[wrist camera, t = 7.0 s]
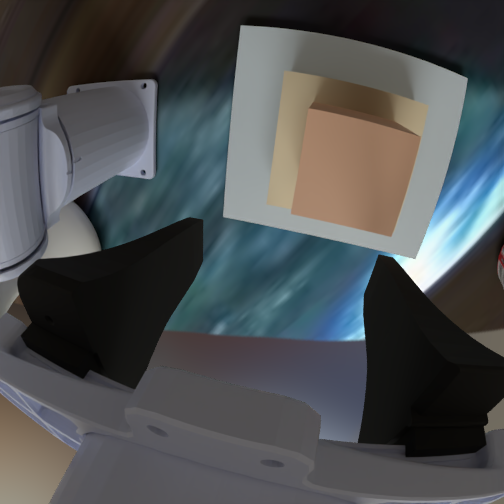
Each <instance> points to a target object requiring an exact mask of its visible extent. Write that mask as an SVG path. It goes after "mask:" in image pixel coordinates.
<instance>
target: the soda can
mask: <svg viewBox="0 0 504 504" xmlns="http://www.w3.org/2000/svg"><path fill="white" fill-rule="evenodd" d="M497 270H498V275H499V278H500V280H501V283H502V285H503V287H504V245H503V246H502V249H501V251H500V254H499V257H498V263H497Z"/></svg>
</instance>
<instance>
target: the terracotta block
mask: <svg viewBox="0 0 504 504" xmlns="http://www.w3.org/2000/svg"><path fill="white" fill-rule="evenodd" d="M420 140H421V137H420V136H418V135H417V134H415V133H414V132H412V131H410V130H409V129H407V128H405V127H403V126H402V125H400V124H398V123H397V122H395V121H391V120H388V119H385V118H381V117H377V116H374V115H370V114H366V113H362V112H358V111H354V110H350V109H345V108H341V107H337V106H332V105H327V104H322V103H317V102H313V103H312V104H311V106H310V107H309V108H308V114H307V121H306V127H305V133H304V140H303V146H302V152H301V158H300V163H299V169H298V175H297V181H296V187H295V192H294V198H293V203H292V209H291V214H293V215H298V216H302V217H307V218H311V219H316V220H321V221H325V222H330V223H334V224H338V225H343V226H347V227H351V228H356V229H360V230H364V231H368V232H372V233H377V234H381V235H385V236H389V237H391V236H392V234H393V231H394V228H395V225H396V222H397V219H398V216H399V213H400V210H401V207H402V204H403V201H404V198H405V194H406V191H407V188H408V184H409V181H410V177H411V174H412V170H413V167H414V163H415V159H416V156H417V152H418V148H419V144H420Z"/></svg>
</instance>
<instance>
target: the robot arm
mask: <svg viewBox="0 0 504 504" xmlns="http://www.w3.org/2000/svg"><path fill="white" fill-rule="evenodd" d="M144 83H146V84H147V87H146V88H144ZM157 87H158V85H157V82H156V80H154V79H142V80H124V81H111V82H100V83H91V84H83V85H76V86H70V87H69V88H68V90H67V94H66V95H61V96H57V97H53V98H48V99H44V100H42V95H41V93H40V92H37V91H36V90H35V89H34V88H33V87H32V86H30V85H15V86H7V87H0V282H4V281H8V280H11V279H14V278H16V277H18V276H19V277H18V280H17V287H18V292H19V295H20V298H21V300H22V302H23V304H24V307H25V309H26V311H27V313H28V315H29V317H30V319H31V321H32V323H31V324H30V325H29V327H28V328H27V327H26V326H25V325H24V323H23V322H21V321H20V320H18V319H17V318H15V317H13V316H12V315H10V314H8V313H5V314H4V315H3V316H2V317H1V318H0V393H1V394H2V395H3V396H5V397H6V398H7V399H8V400H9V401H10V402H12V403H13V404H14V405H15V406H16V407H18V408H19V409H21V411H23V412H24V413H25V414H26V415H28V416H29V417H30V418H31V419H33V420H34V421H35V422H37V423H38V424H39V425H41V426H42V427H43V428H45V429H46V430H47V431H49V432H50V433H51V434H53V435H54V436H55V437H57V438H58V439H60V440H61V441H63V442H64V443H66V444H67V445H69V446H70V447H72V448H73V449H75V450H76V451H77V452H76V454H75V456H74V458H73V459H72V461H71V463H70V465H69V467H68V469H67V470H66V472H65V474H64V476H63V478H62V480H61V482H60V483H59V485H58V487H57V489H56V491H55V493H54V495H53V497H52V499H51V501H50V503H49V504H489V503H492V502H493V501H496V500H498V499H500V498H502V497H504V429H498V430H492V431H489V432H488V433H485V431H484V426H485V425H487V424H488V417H487V413H488V412H489V411H491V410H492V409H493V408H494V407H495V406H496V405H497V404H498V403H499V402H500V401H501V400H502V399H503V398H504V357H502V356H501V355H499V354H497V353H495V352H493V351H492V350H490V349H488V348H486V347H485V346H484V345H482V344H481V343H479V342H478V341H476V340H475V339H473V338H472V337H470V336H469V335H468V334H466V333H465V332H464V331H463V330H461V329H460V328H459V327H458V326H457V325H455V324H454V323H453V322H452V321H451V320H449V319H448V318H447V317H446V316H445V315H444V314H443V313H442V312H441V311H440V310H439V309H438V308H437V307H436V306H435V305H434V304H433V303H432V302H431V301H430V300H429V299H428V298H427V296H426V295H425V294H424V293H423V292H422V291H421V290H420V289H419V287H418V286H417V285H416V284H415V283H414V281H413V280H412V279H411V278H410V277H409V275H408V274H407V273H406V272H405V271H404V269H403V268H402V267H401V266H400V265H399V264H398V262H397V261H396V260H395V259H394V258H393V257H388V256H384V255H378V258H377V261H376V264H375V266H374V269H373V272H372V275H371V277H370V280H369V283H368V285H367V288H366V290H365V293H364V307H363V317H364V328H365V339H366V351H367V382H366V393H365V402H364V411H363V417H362V423H361V429H360V434H359V439H358V443H352V442H341V441H333V440H325V439H319V433H320V424H321V416H320V415H319V414H318V413H317V412H316V411H315V410H313V409H312V408H311V407H310V406H309V405H307V404H306V403H305V402H302V401H299V400H296V399H293V398H290V397H287V396H283V395H278V394H274V393H269V392H264V391H259V390H255V389H251V388H247V387H243V386H238V385H235V384H231V383H227V382H223V381H219V380H216V379H212V378H208V377H205V376H201V375H198V374H195V373H191V372H188V371H185V370H181V369H176V368H169V367H164V366H160V367H155V368H153V369H149V370H146V369H147V367H148V364H149V361H150V359H151V356H152V354H153V352H154V350H155V347H156V345H157V343H158V341H159V338H160V336H161V334H162V332H163V330H164V328H165V326H166V324H167V322H168V320H169V319H170V317H171V315H172V314H173V312H174V311H175V309H176V308H177V306H178V304H179V303H180V301H181V300H182V298H183V297H184V295H185V294H186V292H187V291H188V289H189V287H190V286H191V284H192V283H193V281H194V280H195V277H196V275H197V273H198V271H199V269H200V267H201V264H202V262H203V220H202V219H196V218H191V217H189V218H186V219H183V220H181V221H178V222H176V223H174V224H171V225H169V226H167V227H165V228H162V229H160V230H158V231H156V232H153V233H151V234H149V235H146V236H144V237H141V238H139V239H136V240H134V241H131V242H128V243H125V244H122V245H119V246H116V247H113V248H109V249H105V250H101V251H97V252H93V253H88V254H82V255H77V256H69V257H60V258H45V259H41V257H42V256H43V254H44V253H45V251H46V248H47V245H48V233H47V230H48V229H49V228H50V227H52V226H53V225H55V224H56V223H57V222H59V221H60V217H59V215H60V210H61V208H62V207H64V206H65V205H67V204H68V203H70V202H71V201H73V200H75V199H76V198H78V197H79V196H81V195H83V194H84V193H86V192H87V191H89V190H91V189H92V188H94V187H96V186H97V185H99V184H101V183H103V182H104V181H106V180H108V179H109V178H111V177H113V176H115V175H122V176H130V177H138V178H145V179H151V178H153V177H155V175H156V110H157ZM79 89H80V92H79ZM143 170H145V171H146V174H144V173H143Z"/></svg>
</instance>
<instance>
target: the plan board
mask: <svg viewBox="0 0 504 504" xmlns="http://www.w3.org/2000/svg"><path fill="white" fill-rule="evenodd" d="M284 71H291V72H298V73H304V74H310V75H316V76H321V77H327V78H332V79H337V80H341V81H346V82H350V83H355V84H359V85H363V86H367V87H371V88H374V89H378V90H382V91H385V92H389V93H392V94H396V95H399V96H402V97H405V98H408V99H411V100H415V101H417V102H420V103H423V104H426V105H429V106H428V111H427V116H426V121H425V125H424V130H423V134H422V138H421V143H420V147H419V151H418V155H417V158H416V162H415V166H414V170H413V173H412V177H411V180H410V184H409V187H408V190H407V194H406V197H405V200H404V203H403V207H402V210H401V213H400V216H399V219H398V222H397V225H396V228H395V230H394V233H393V234H392V236H391V237H389V236H385V235H381V234H377V233H372V232H368V231H364V230H360V229H356V228H351V227H347V226H343V225H338V224H334V223H330V222H325V221H321V220H316V219H311V218H307V217H302V216H298V215H293V214H291V209H287V208H282V207H277V206H272V205H267V204H266V203H267V196H268V189H269V182H270V174H271V167H272V160H273V152H274V145H275V137H276V130H277V122H278V115H279V107H280V100H281V92H282V84H283V77H284ZM467 79H468V78H466V77H463V76H461V75H459V74H457V73H454V72H452V71H450V70H447V69H445V68H442V67H440V66H437V65H435V64H432V63H429V62H427V61H424V60H421V59H418V58H415V57H412V56H409V55H406V54H403V53H400V52H397V51H393V50H390V49H387V48H383V47H380V46H376V45H372V44H368V43H364V42H360V41H356V40H351V39H347V38H342V37H337V36H331V35H326V34H320V33H314V32H307V31H300V30H292V29H283V28H273V27H260V26H241V29H240V38H239V46H238V55H237V64H236V73H235V83H234V93H233V103H232V114H231V124H230V136H229V147H228V159H227V172H226V185H225V198H224V213H223V217H227V218H232V219H237V220H242V221H247V222H252V223H257V224H261V225H266V226H271V227H276V228H281V229H285V230H290V231H295V232H300V233H304V234H309V235H314V236H318V237H323V238H327V239H332V240H336V241H341V242H345V243H350V244H354V245H358V246H363V247H367V248H371V249H376V250H380V251H384V252H388V253H393V254H397V255H401V256H405V257H409V258H413V259H415V258H416V256H417V254H418V251H419V249H420V246H421V244H422V241H423V239H424V236H425V234H426V231H427V228H428V226H429V223H430V220H431V218H432V215H433V212H434V209H435V206H436V204H437V201H438V198H439V195H440V192H441V188H442V185H443V182H444V179H445V176H446V172H447V169H448V165H449V162H450V158H451V155H452V151H453V147H454V143H455V139H456V135H457V131H458V126H459V122H460V117H461V113H462V108H463V103H464V97H465V92H466V86H467Z"/></svg>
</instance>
